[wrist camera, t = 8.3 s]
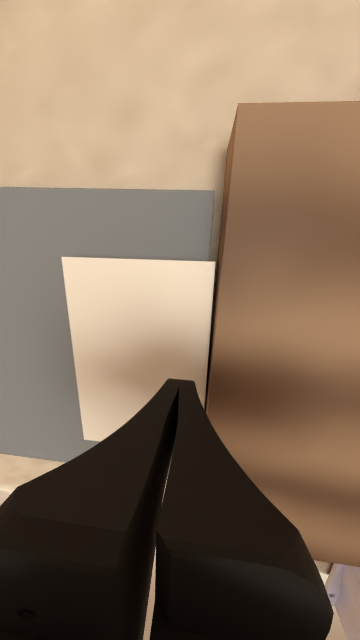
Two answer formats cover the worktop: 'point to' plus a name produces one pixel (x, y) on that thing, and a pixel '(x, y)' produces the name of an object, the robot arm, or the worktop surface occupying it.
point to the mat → (50, 295)
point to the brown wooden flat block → (292, 316)
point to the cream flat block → (135, 333)
